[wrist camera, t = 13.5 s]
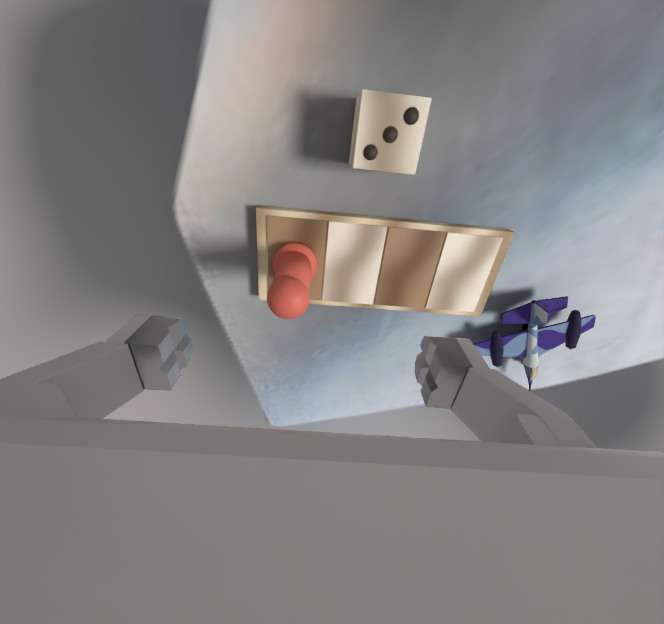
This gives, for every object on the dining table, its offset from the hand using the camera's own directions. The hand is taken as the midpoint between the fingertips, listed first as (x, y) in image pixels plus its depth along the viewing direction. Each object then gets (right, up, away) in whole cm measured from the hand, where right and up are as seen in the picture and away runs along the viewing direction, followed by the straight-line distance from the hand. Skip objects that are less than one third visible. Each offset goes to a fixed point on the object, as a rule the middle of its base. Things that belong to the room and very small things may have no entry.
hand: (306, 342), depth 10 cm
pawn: (-3, +6, +20) cm, 21 cm away
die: (+5, +17, +16) cm, 24 cm away
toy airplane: (+25, -2, +28) cm, 37 cm away
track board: (+6, +6, +22) cm, 24 cm away
